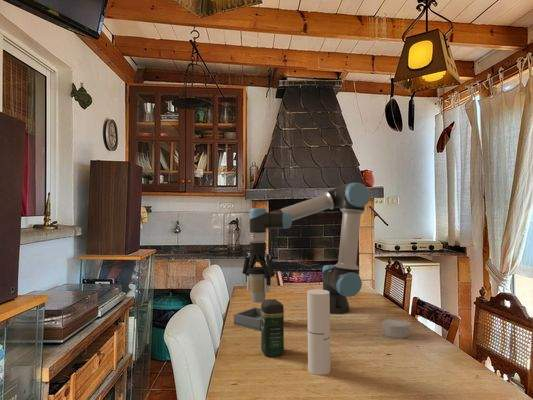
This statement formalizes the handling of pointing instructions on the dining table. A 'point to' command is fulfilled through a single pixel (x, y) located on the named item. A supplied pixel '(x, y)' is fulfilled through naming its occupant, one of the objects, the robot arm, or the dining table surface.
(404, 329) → the ramekin
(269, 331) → the coffee jar
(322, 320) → the cylindrical container
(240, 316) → the tray
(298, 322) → the dining table surface
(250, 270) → the coffee cup
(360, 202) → the robot arm
